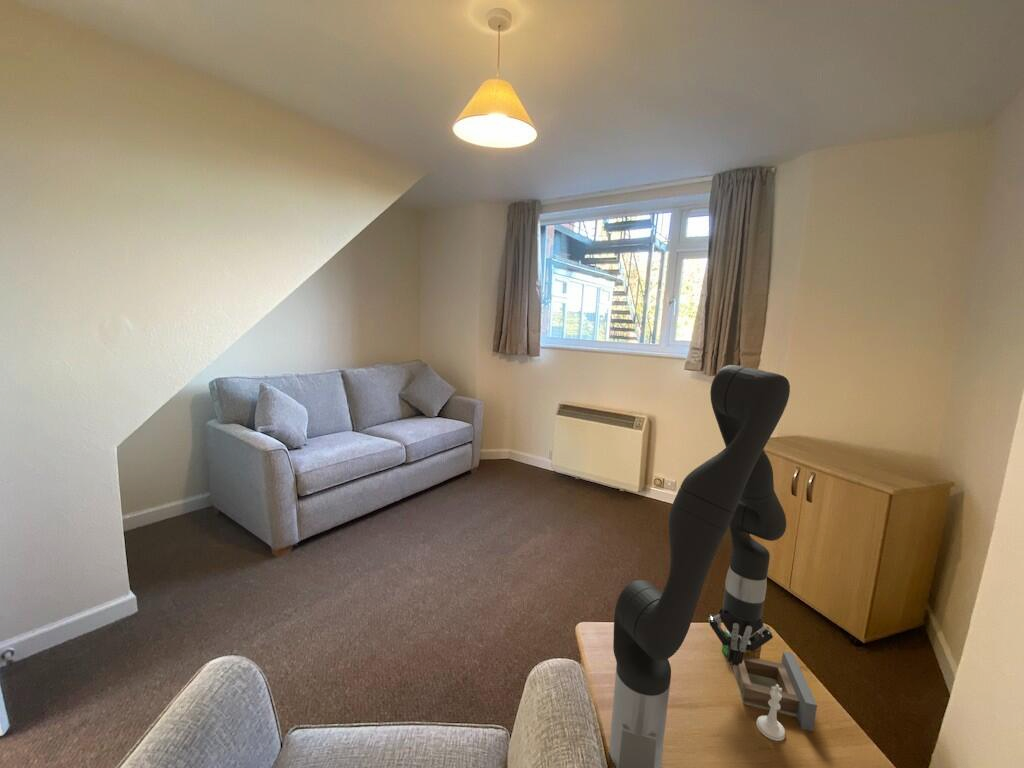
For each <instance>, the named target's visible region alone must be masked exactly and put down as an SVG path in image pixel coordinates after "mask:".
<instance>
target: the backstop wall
mask: <svg viewBox="0 0 1024 768" xmlns="http://www.w3.org/2000/svg"><path fill="white" fill-rule="evenodd" d="M780 664H784V667H785V669H786V671H787V674H788V676H789V679H790V681H791V683H792V686H793V688H794V691H795V693H796V695H797V698H798V700H799V704H798V710H797V716H796V717H795V718H796V719H797V722H798V724H799V726H800V729H801V730H805V731H809V732H813V731H814V725H815V719H816V716H817V709H818V704H817V701H816V700H815V697H814V695H813V694H812V691H811V689H810V686H809V685H808V683H807V680H806V678H805V676H804V673H803V671H802V669H801V667H800V665H799V662H798V661H797V659H796V657H795V654H794V653H793V652H789V651H782V658H781V663H780Z"/></svg>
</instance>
